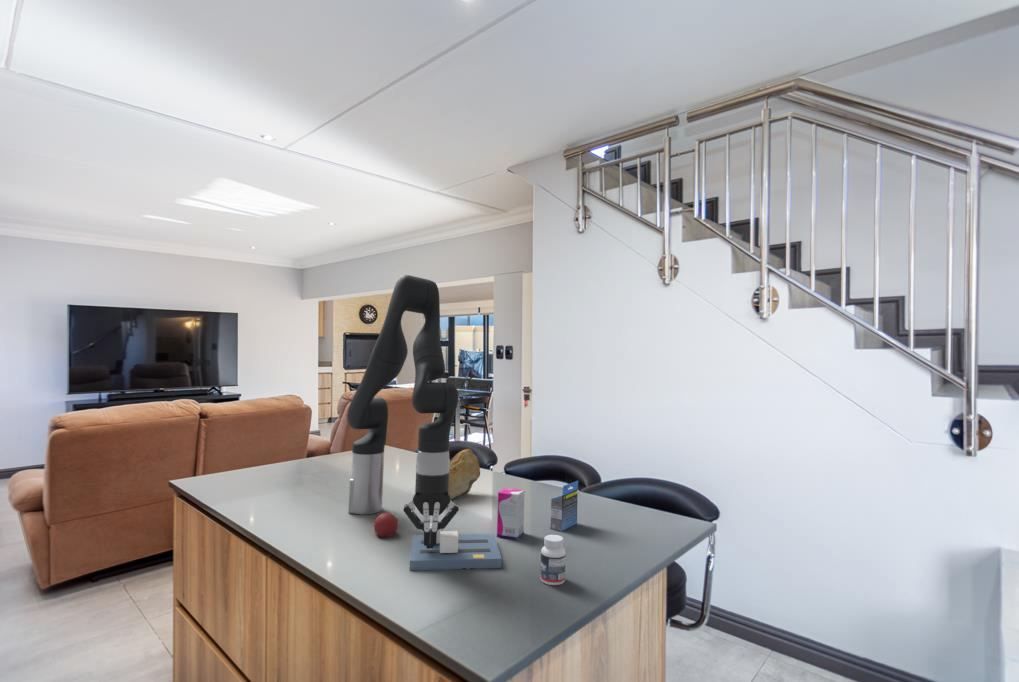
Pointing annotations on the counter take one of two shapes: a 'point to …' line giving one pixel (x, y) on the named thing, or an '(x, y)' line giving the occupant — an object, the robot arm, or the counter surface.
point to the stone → (463, 472)
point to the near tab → (448, 541)
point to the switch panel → (470, 553)
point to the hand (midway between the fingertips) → (430, 547)
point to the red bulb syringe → (385, 525)
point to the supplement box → (510, 513)
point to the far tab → (437, 533)
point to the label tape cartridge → (564, 508)
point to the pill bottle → (553, 560)
